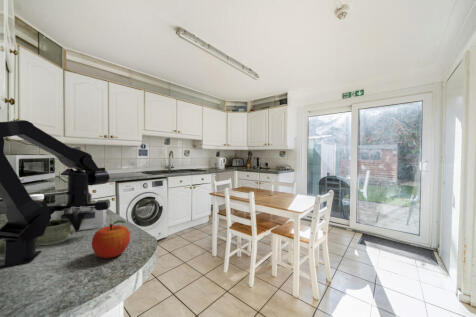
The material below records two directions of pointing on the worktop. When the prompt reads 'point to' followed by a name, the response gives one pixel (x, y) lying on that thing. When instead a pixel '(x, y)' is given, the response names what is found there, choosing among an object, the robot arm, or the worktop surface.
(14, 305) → the worktop surface
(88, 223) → the housing
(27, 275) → the worktop surface
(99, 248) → the fruit
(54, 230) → the vessel
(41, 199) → the sprinkles bottle
